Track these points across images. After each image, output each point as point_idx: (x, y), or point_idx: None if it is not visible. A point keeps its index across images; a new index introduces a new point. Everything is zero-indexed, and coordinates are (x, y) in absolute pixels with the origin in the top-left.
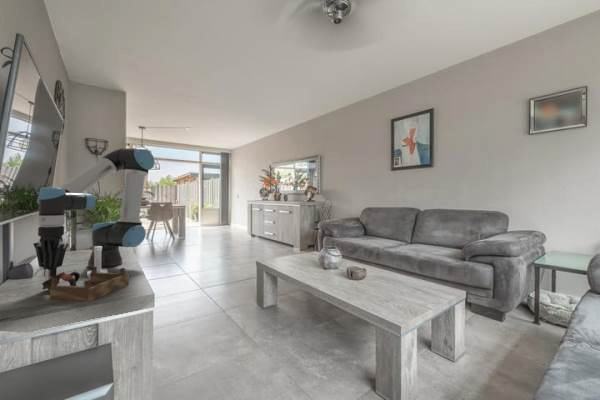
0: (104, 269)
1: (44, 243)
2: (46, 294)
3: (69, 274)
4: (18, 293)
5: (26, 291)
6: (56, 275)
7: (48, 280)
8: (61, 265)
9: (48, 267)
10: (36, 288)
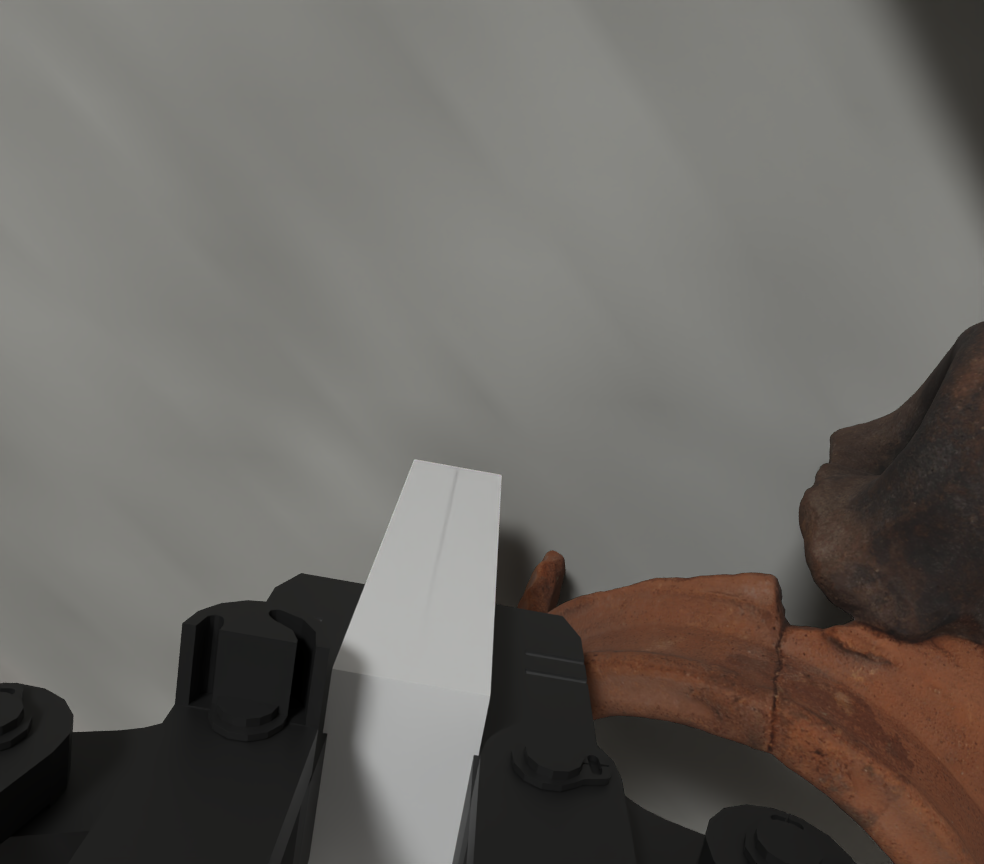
0: None
1: None
2: (633, 787)
3: (974, 621)
4: (96, 720)
5: (131, 627)
6: (647, 716)
7: None
8: (834, 861)
9: (305, 840)
10: (151, 465)
